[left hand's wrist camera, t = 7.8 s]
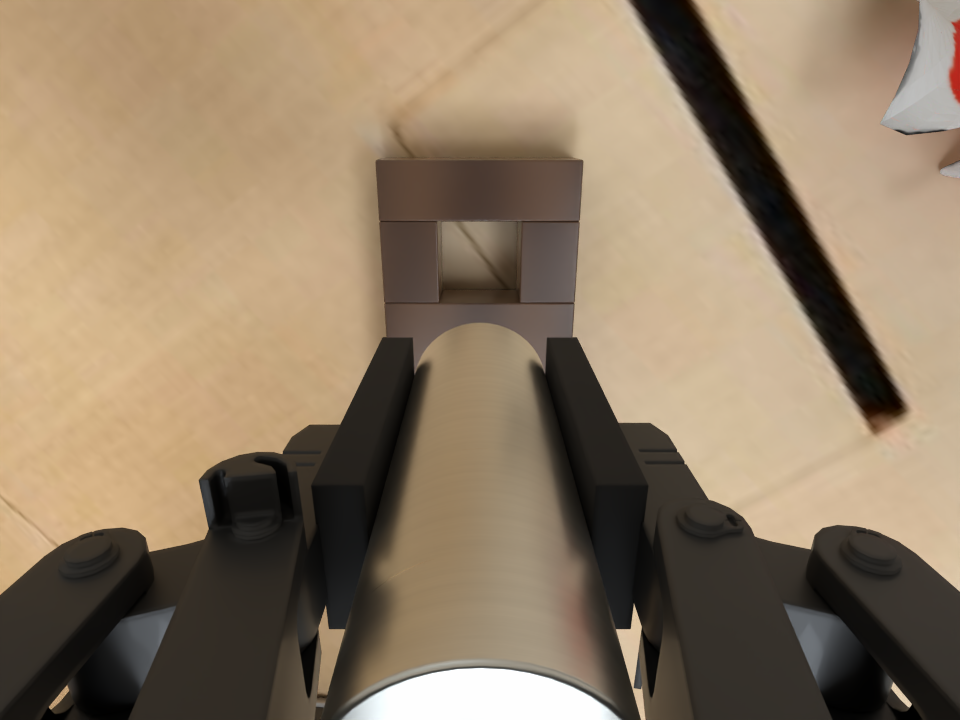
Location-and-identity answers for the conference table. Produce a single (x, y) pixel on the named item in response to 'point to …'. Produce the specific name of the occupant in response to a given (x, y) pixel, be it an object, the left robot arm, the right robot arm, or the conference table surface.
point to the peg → (480, 558)
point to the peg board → (479, 197)
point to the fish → (931, 77)
